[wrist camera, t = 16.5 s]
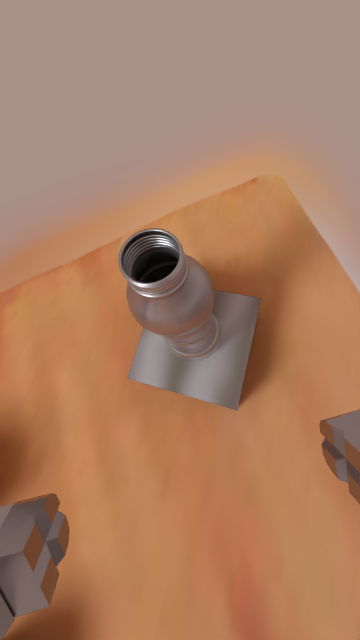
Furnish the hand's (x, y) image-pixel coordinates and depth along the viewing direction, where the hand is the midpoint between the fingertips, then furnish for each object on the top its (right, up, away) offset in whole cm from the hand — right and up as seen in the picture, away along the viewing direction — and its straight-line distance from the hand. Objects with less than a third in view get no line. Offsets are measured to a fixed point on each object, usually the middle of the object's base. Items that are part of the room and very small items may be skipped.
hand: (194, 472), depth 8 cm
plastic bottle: (+2, +2, +25) cm, 26 cm away
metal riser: (+2, +1, +31) cm, 31 cm away
